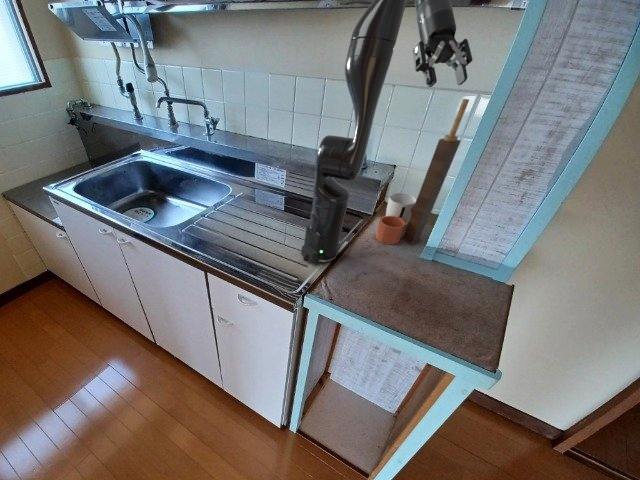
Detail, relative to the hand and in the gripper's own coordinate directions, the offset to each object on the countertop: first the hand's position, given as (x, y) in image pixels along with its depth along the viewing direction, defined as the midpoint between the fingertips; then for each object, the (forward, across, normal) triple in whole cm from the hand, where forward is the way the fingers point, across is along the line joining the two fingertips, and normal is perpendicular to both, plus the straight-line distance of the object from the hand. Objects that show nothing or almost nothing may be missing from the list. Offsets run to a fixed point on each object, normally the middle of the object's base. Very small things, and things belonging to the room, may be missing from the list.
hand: (447, 83), depth 81 cm
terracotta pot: (+32, -6, +26) cm, 42 cm away
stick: (+13, 0, +2) cm, 13 cm away
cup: (+28, 0, +30) cm, 41 cm away
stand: (+34, 0, +24) cm, 42 cm away
